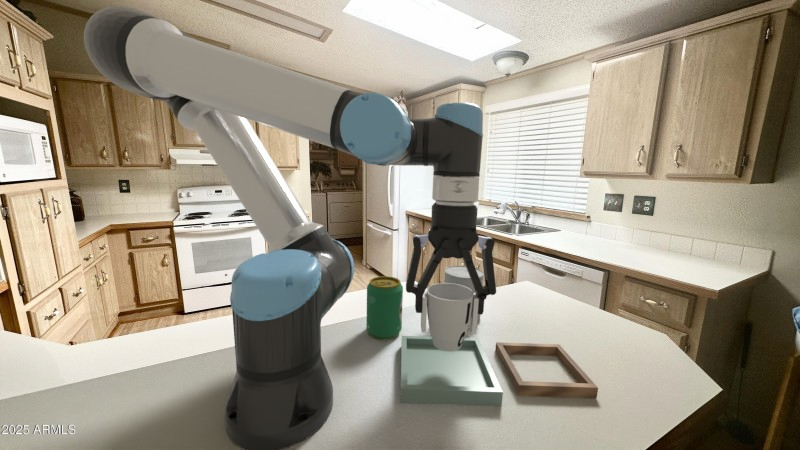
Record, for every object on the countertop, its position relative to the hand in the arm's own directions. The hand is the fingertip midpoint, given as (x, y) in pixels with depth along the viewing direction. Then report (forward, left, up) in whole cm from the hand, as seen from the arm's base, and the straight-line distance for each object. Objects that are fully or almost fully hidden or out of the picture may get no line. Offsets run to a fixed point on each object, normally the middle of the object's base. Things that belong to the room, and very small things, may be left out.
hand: (447, 329), depth 56 cm
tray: (0, 0, -9) cm, 9 cm away
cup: (0, 0, -3) cm, 3 cm away
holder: (+18, +1, -8) cm, 20 cm away
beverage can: (-12, +14, -9) cm, 20 cm away
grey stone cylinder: (+7, +22, -9) cm, 25 cm away
